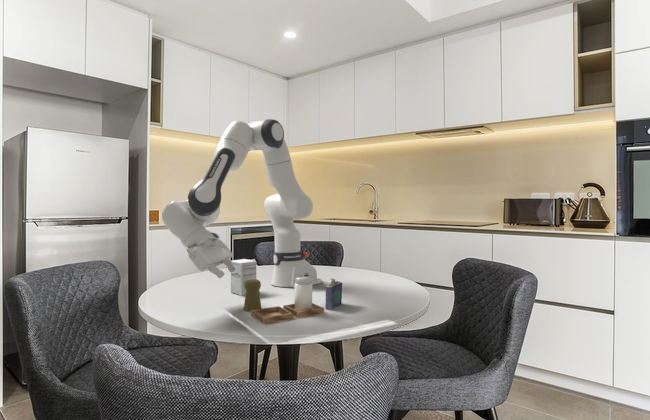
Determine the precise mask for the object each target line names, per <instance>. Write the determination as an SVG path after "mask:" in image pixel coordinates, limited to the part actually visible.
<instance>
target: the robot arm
mask: <svg viewBox="0 0 650 420" xmlns="http://www.w3.org/2000/svg"><path fill="white" fill-rule="evenodd" d="M284 131H285V130H284V128H283V126H282V124H281V123H280V122H279V121H278V120H276V119H271V118H269V119H268V118H267V119H264V120H255V121H253V122H250V123H247V122H245V121H241V120H234V121H232V122H231V123H230V124H229V125H228V126H227V127H226V129H225V130H224V132H223V133H222V135H221V136H220V139H219V141H218V143H217V145H216V148H215V151H214V153H213V158H212V160H211V162H210V165H209V166H208V168H207V171H206V173H205V174H204V176H203V177H202V178H201V180H199V181H198V182H197V183H196V184H195V185H193V186H192V188H191V189H190V190H189V192H188V195H187V199H186V200H172V201H171V202H169V203H168V204H167V205H166V206H165V208H164V209H163V211H162V214H161V219H162V222H163V224H164V225H165V227H166V228H167V229H168V230H169V232H170V233H171V234H172V235H173V236H174V237H176V238H177V239H178V240H179V241H180V242H181V245H182V246H184V248H185V249H186V253H188V255H187V256H188V258H189V259H190V261H191V262H192V263H193V264H194V265H195V266H194V267H196V269H198V270H199V271H200V272H205V271H209V272H210V273H212V274H213V275H215V276H217V278H218V279H221V278H223V277H224V276H225V272H224V271H223V270H221V269H219V268H218V267H217V266H220V265H223V264H224V266H226V267H227V270H228V271H229V273H230V274H231V273H232V272H234V271H235V270H236V268H235V267H234V266H233V264H232V261H233V260H231V258H232V257H233V253H232V251H231V250H230V249H229V247H228V246H227V245H226V244H225V242H223V241H222V240H221V239H220V238H221V237H220V235H219V234H218V233H215V232H212V231H210V230H208V229H207V228H206V227H208V226H209V225H211V224H213V223H215V222H216V221H217V220H218V218H219V216H220V211H221V201H222V186H223V184H224V183H225V180H226V178H227V176H228V174H229V172H230V171H236V170H239V169H240V167H241V166H242V165H243V163H244V162H245V159H246V158H247V156H248V153H249V152H250V151H261V152H262V154H263V162H264V166H265V171H266V174H267V179H268V183H269V185H270V186H272V187H273V188H274V189H275V190H276V192H277V193H274V194H271V195H269V196H267V197H266V199H265V200H264V202H263V209H264V211H265V214H266V215H267V216H268V217H269V219H270V222H271V224H272V225H271V226H272V228H273V233H274V235H273V236H274V251H273V265H274V266H273V272H272V277H271V281H270V284H271V286H273V287H274V286H275V287H281V288H294V289H295V282H296V277H303V276H305V277H311V282H312V286H314V285H318V284H319V285H320V284H323V279H321V278H319V277H318V272H317V269H316V268H315V267H314V265H312V264H311V263H310V262H308V261H307V260H306V259H305V258H308V257H309V253H308V252H307V251H301V233H300V230H299V229H297V227H296V225H295V223H294V220H296V221H297V220H303V219H307V218H308V217H310V216H311V215H312V213H313V211H314V210H313V209H314V204H313V201H312V198H311V197H310V196H308V195H307V194H306V193H305V192H304V190H303V189H302V188H301V187H300V184H299V182H298V181H297V178H296V176H295V172H294V167H293V163H292V159H291V158H292V157H291V155H290V150H289V147H288V146H287V145H288V144H287V143H286V140H285V132H284Z"/></svg>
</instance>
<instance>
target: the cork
mask: <svg viewBox="0 0 650 420" xmlns="http://www.w3.org/2000/svg"><path fill="white" fill-rule="evenodd" d="M261 285H262V283H261V280H259V279H257V278H256V279H250V280H247V281H246V282H245V284H244V287H245V289H246V295H244V296H245V297H244V305H243V310H244V311H245V312H250V313H251V310H257V309H263V308H262V301H261V296H260V295H261V294H260V289H261V287H262V286H261Z"/></svg>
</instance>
